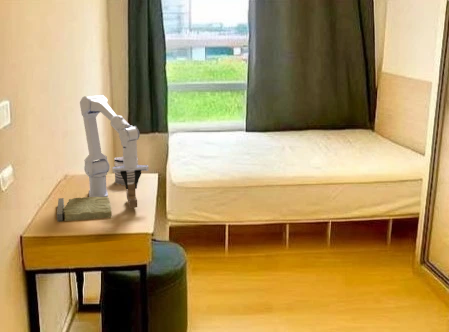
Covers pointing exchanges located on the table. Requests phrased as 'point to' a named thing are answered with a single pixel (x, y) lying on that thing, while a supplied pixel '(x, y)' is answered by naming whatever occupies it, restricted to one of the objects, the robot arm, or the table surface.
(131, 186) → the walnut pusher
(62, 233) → the table surface
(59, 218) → the stop rail
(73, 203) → the decorative tile
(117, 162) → the can
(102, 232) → the table surface
